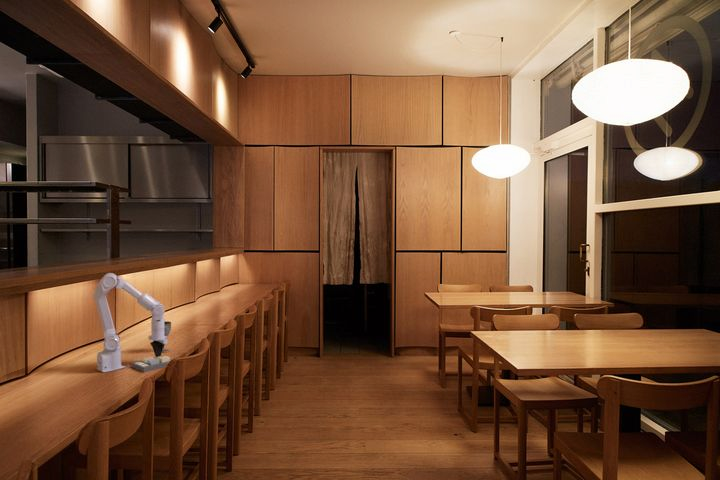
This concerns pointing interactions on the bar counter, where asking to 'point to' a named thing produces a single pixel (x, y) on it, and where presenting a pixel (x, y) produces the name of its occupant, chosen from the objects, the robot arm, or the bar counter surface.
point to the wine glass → (166, 332)
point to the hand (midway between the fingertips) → (158, 356)
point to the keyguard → (148, 366)
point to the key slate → (153, 361)
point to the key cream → (146, 359)
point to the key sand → (164, 359)
